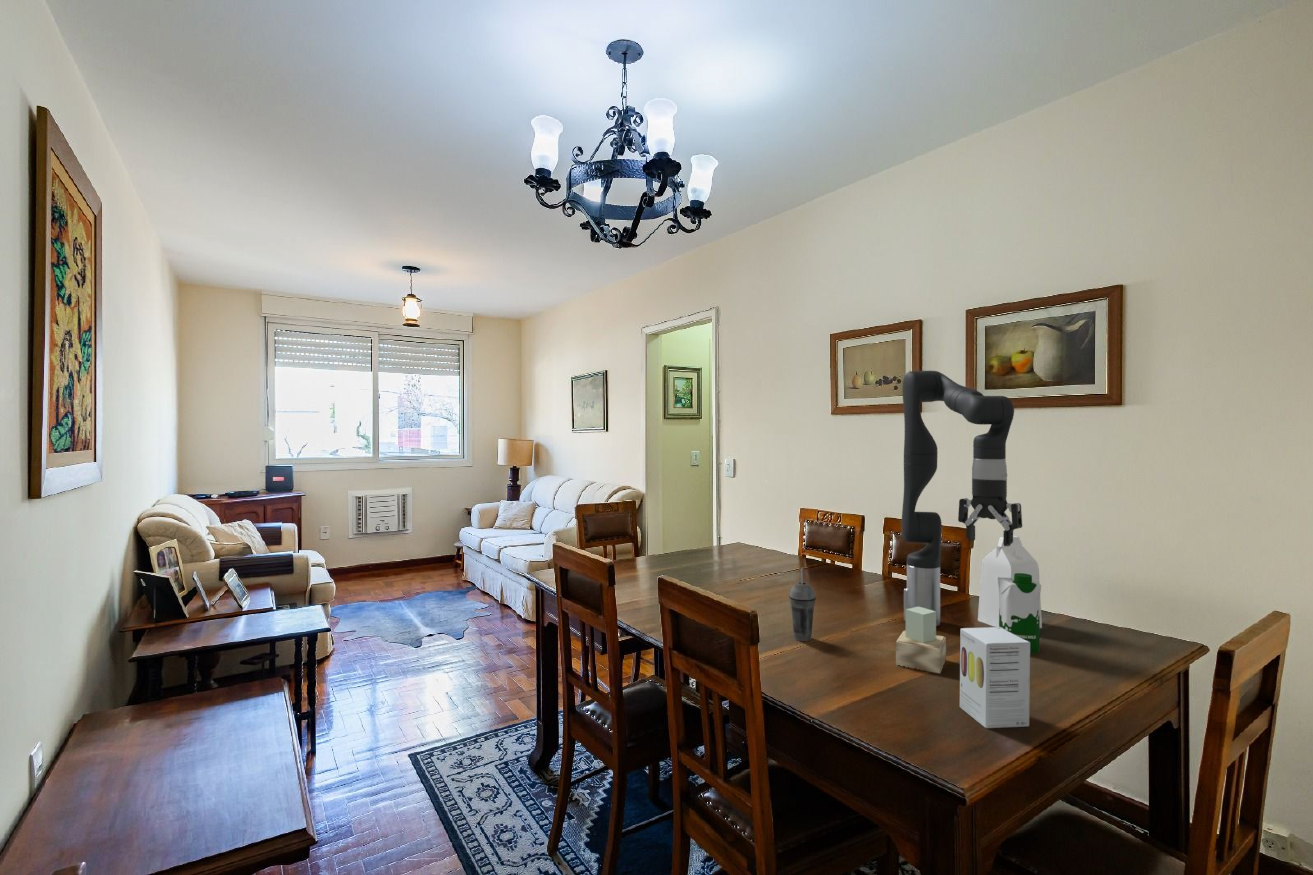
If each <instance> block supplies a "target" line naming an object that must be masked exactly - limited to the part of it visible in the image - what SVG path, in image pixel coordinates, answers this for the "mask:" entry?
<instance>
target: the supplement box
mask: <svg viewBox="0 0 1313 875" xmlns="http://www.w3.org/2000/svg"><path fill="white" fill-rule="evenodd" d="M959 632H960V634H959V635H960V637H959V639H960V640H959V642H960V645H959V646H960V647H959V648H960V649H959V653H960V654H959V708H960V709H961V710H963V711H964V712H965V713H967V714H968V715H969V716H970V717H971V718H973V719H974V720H975V721H976V722H977V723H979V724H980V725H981V726H982V727H984V728H985V729H995V728H996V729H1001V728H1003V729H1004V728H1019V727H1020V728H1022V727H1024V728H1025V727H1030V701H1031V698H1030V696H1031V695H1030V693H1031V692H1030V690H1031V689H1030V686H1031V685H1030V681H1031V680H1030V677H1031V675H1030V674H1031V673H1030V672H1031V653H1030V642H1028V641H1026V640H1024V639H1022V638H1020V637H1018V636H1016V635H1014V634H1012V633H1010V632H1008V631H1006V630H1005V629H1003V628H1001V627H994V626H991V627H990V626H989V627H963V628H962V627H961V628H960V631H959Z"/></svg>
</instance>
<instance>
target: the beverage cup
mask: <svg viewBox="0 0 1313 875" xmlns="http://www.w3.org/2000/svg"><path fill="white" fill-rule="evenodd" d="M803 570H804V568H803V567H800V582H798V583H796V584H794V585H793V586H792V587H791V589H790V593H789V597H788V598H789V602H790V606H791V619H792V629H793V637H794V638H795V639H796V640H795V639H794V640H795V641H798V642H803V641H806V642H811V640H812V634H813V633H812V632H813V622H814V621H813V620H814V609H815V608H814V607H815V604H816V599H817V598H816V592H815V589H814V588H813V587H812V586H811V585H810V584H809V583H806V582H804V577H803V576H804V573H803Z"/></svg>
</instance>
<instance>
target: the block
mask: <svg viewBox="0 0 1313 875" xmlns="http://www.w3.org/2000/svg"><path fill="white" fill-rule="evenodd" d="M904 631H905V637H906V638H909V639H912V640H915V641H918V642H921V643H925V642H929V641H933V640H936V635H937V626H936V611H933V610H929V609H926V608H922V607H919V606H918V607H914V608H910V609H906V621H905V630H904Z"/></svg>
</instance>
